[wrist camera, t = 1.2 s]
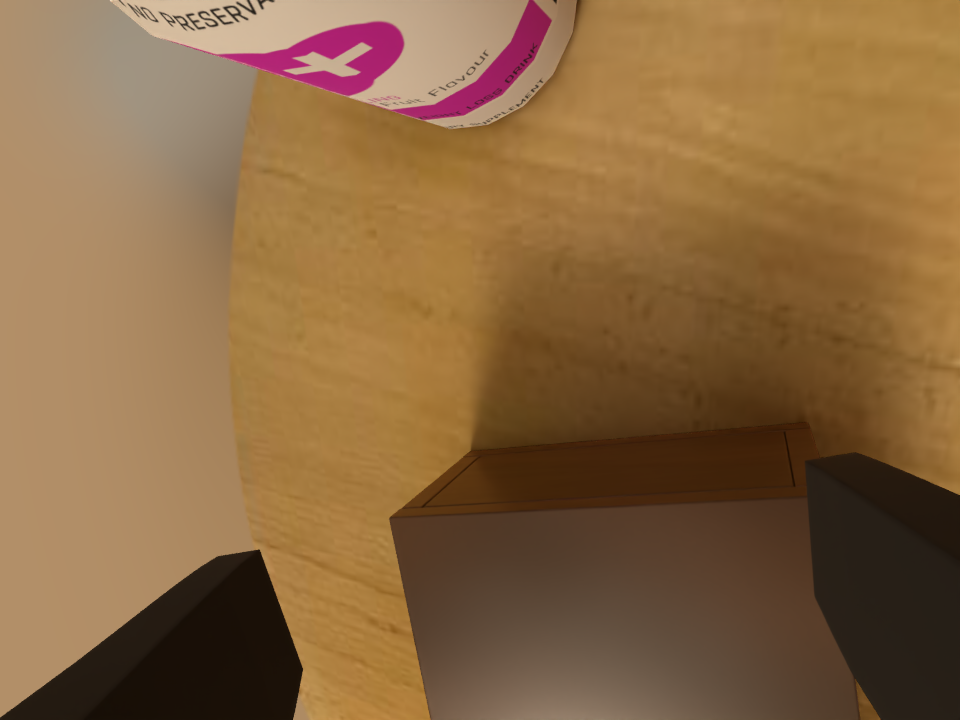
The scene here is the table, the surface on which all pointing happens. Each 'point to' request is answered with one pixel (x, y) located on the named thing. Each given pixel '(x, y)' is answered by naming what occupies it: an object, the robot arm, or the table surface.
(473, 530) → the cabinet
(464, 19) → the supplement can
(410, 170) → the table surface
